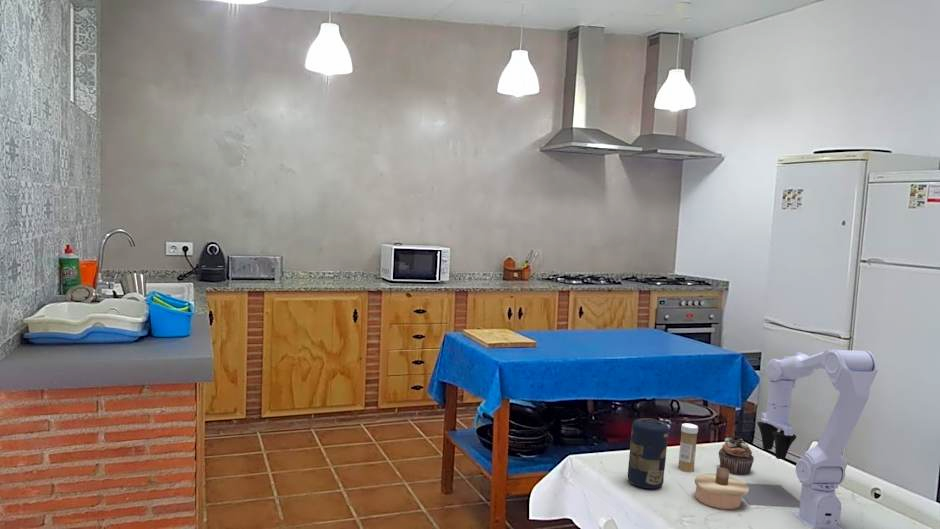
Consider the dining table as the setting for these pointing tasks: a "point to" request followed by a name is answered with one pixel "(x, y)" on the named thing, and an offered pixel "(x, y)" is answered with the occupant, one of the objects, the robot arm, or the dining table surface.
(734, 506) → the bowl
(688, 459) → the sprinkles bottle
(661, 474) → the navy canister
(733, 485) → the lid
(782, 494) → the mat
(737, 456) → the cupcake
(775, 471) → the dining table surface
